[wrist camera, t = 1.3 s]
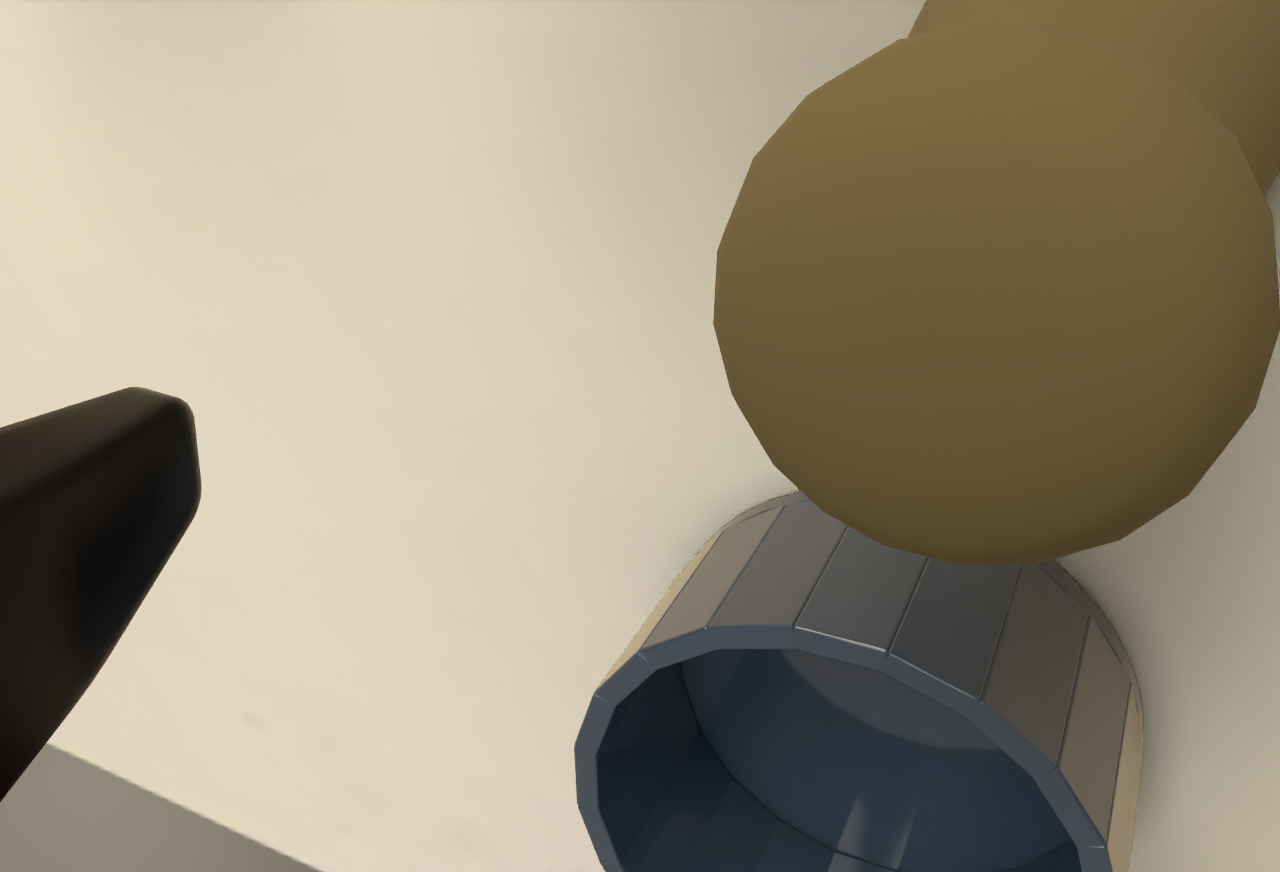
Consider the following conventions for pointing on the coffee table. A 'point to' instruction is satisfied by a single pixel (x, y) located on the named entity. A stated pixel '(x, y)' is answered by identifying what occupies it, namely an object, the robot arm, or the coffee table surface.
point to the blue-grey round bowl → (862, 714)
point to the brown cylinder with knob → (1013, 272)
